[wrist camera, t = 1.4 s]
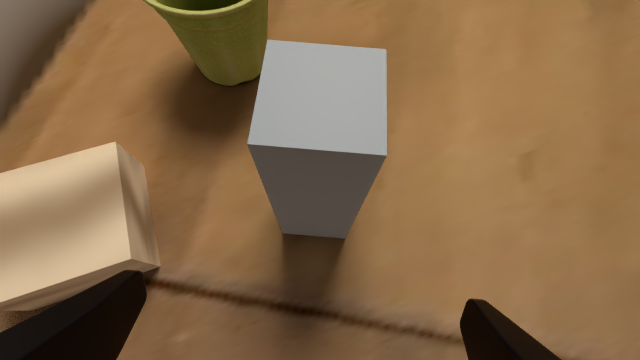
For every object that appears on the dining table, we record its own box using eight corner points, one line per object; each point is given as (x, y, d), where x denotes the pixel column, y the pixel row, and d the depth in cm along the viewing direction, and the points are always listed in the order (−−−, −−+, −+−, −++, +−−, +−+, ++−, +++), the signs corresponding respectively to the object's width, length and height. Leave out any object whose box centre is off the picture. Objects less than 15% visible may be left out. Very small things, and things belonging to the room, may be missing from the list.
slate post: (345, 238, 22) (386, 155, 10) (282, 233, 22) (246, 143, 10) (348, 180, 24) (386, 49, 12) (289, 175, 24) (267, 39, 12)
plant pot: (301, 37, 29) (297, -65, 21) (261, 116, 26) (238, 29, 18) (211, 12, 30) (175, -96, 22) (161, 84, 27) (96, -12, 19)
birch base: (162, 267, 21) (131, 258, 17) (36, 310, 20) (-27, 311, 16) (145, 167, 24) (115, 141, 20) (33, 199, 23) (-20, 178, 19)
